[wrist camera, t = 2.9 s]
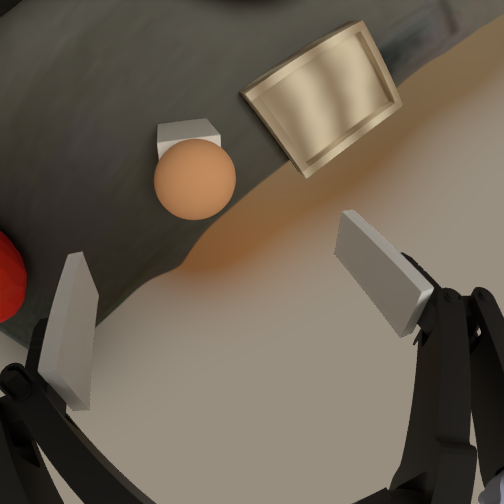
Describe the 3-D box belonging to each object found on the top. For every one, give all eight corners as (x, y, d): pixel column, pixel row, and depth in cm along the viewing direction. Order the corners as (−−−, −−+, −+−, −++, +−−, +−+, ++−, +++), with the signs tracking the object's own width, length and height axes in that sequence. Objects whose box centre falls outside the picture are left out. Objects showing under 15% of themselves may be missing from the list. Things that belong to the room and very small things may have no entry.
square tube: (162, 169, 31) (164, 200, 25) (157, 124, 28) (157, 142, 22) (208, 162, 32) (222, 191, 26) (206, 118, 29) (220, 135, 23)
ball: (159, 204, 25) (161, 241, 20) (150, 136, 22) (147, 158, 17) (227, 194, 27) (245, 228, 22) (225, 127, 23) (244, 146, 18)
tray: (297, 170, 36) (306, 178, 34) (238, 91, 28) (245, 93, 26) (390, 101, 33) (403, 105, 31) (349, 21, 26) (362, 20, 24)
